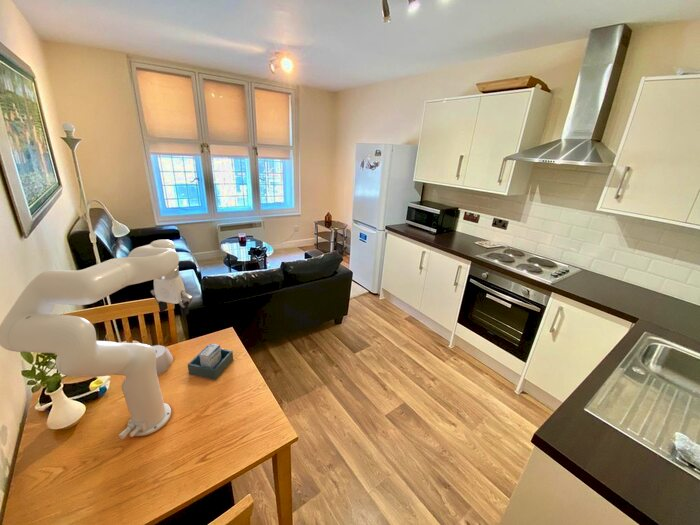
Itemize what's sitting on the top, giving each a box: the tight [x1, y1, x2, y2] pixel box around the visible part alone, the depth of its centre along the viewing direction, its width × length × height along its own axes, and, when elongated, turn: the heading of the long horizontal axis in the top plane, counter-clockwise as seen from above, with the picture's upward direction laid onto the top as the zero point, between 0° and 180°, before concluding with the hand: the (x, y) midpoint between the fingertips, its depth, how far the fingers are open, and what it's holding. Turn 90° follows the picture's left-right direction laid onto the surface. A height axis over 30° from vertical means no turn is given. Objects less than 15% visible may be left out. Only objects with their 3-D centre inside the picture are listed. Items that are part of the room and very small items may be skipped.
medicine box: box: [199, 343, 222, 369], centre depth 123 cm, size 8×4×9 cm, turn 168°
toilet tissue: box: [151, 344, 174, 377], centre depth 122 cm, size 9×13×9 cm
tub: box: [187, 345, 234, 381], centre depth 124 cm, size 13×13×5 cm
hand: (174, 312), depth 112 cm, fingers open, 9 cm apart
